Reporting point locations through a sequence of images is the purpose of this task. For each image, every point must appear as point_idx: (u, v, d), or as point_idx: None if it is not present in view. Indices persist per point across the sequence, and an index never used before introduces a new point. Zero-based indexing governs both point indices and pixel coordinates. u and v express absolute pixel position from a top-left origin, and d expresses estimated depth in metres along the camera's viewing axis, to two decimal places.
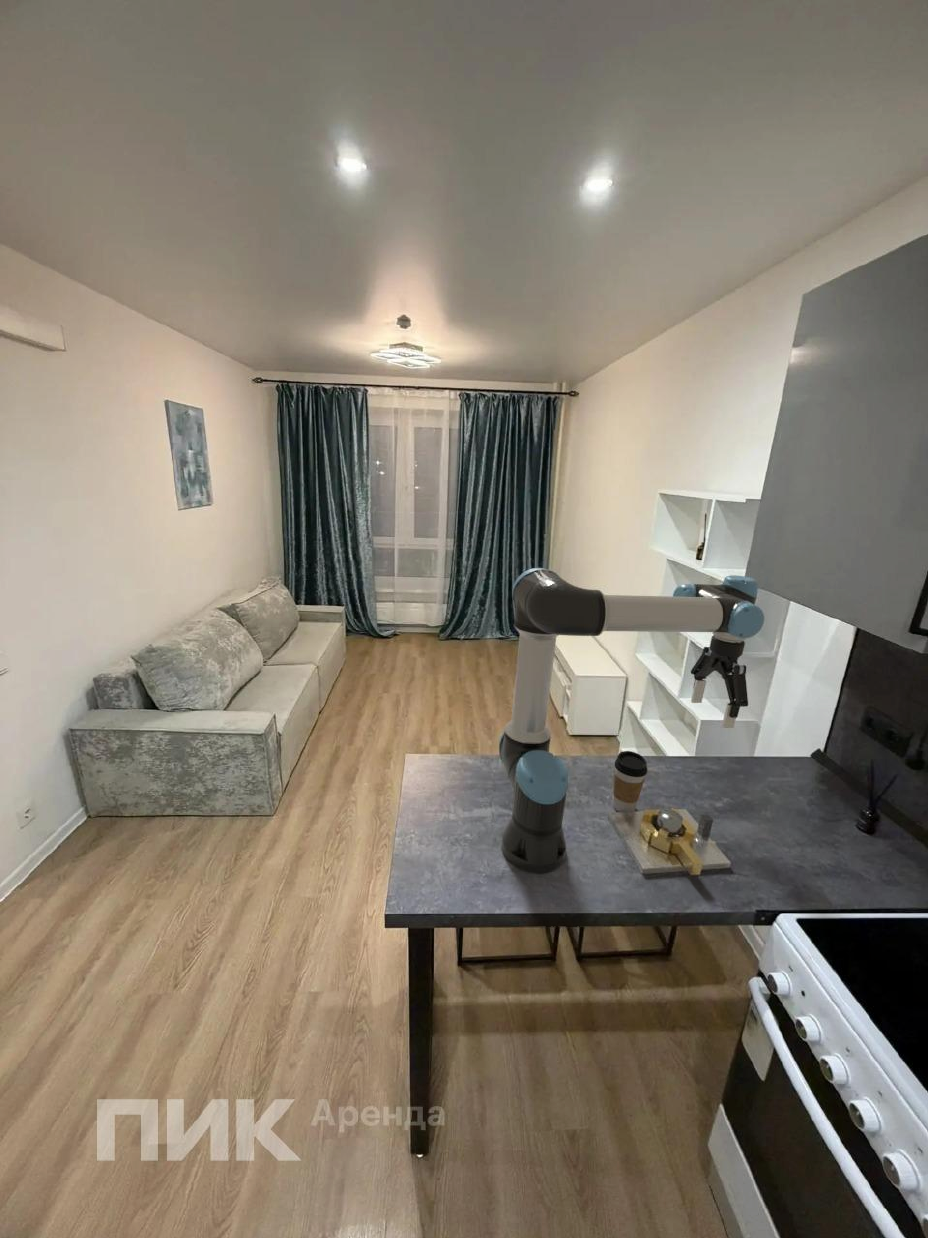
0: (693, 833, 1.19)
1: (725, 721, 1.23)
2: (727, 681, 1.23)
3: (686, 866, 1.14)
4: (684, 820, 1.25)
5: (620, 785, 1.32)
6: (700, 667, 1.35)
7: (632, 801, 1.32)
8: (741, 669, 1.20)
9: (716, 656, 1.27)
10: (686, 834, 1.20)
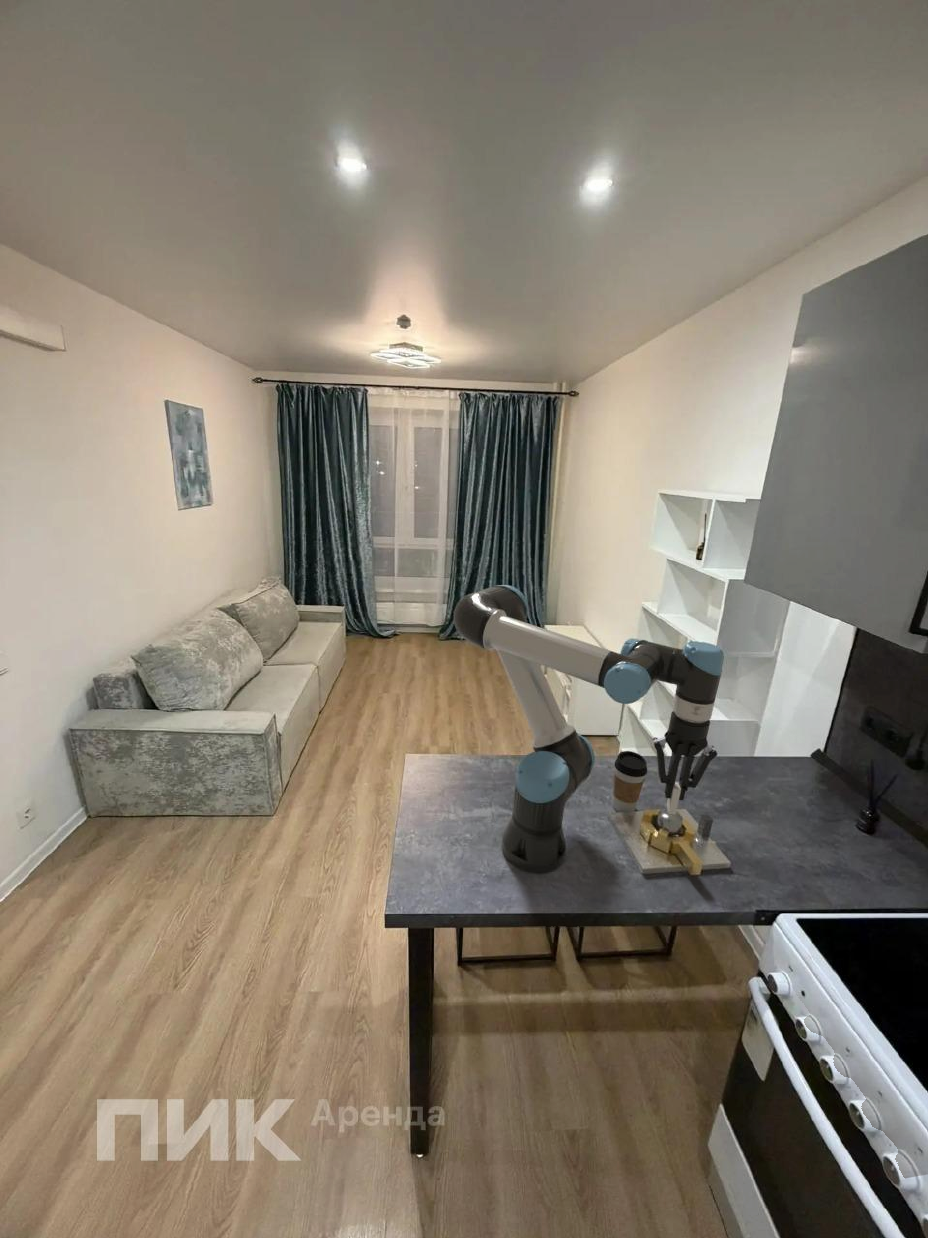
0: (693, 833, 1.19)
1: None
2: None
3: (686, 866, 1.14)
4: (684, 820, 1.25)
5: (620, 785, 1.32)
6: (694, 771, 1.08)
7: (632, 801, 1.32)
8: None
9: None
10: (686, 834, 1.20)
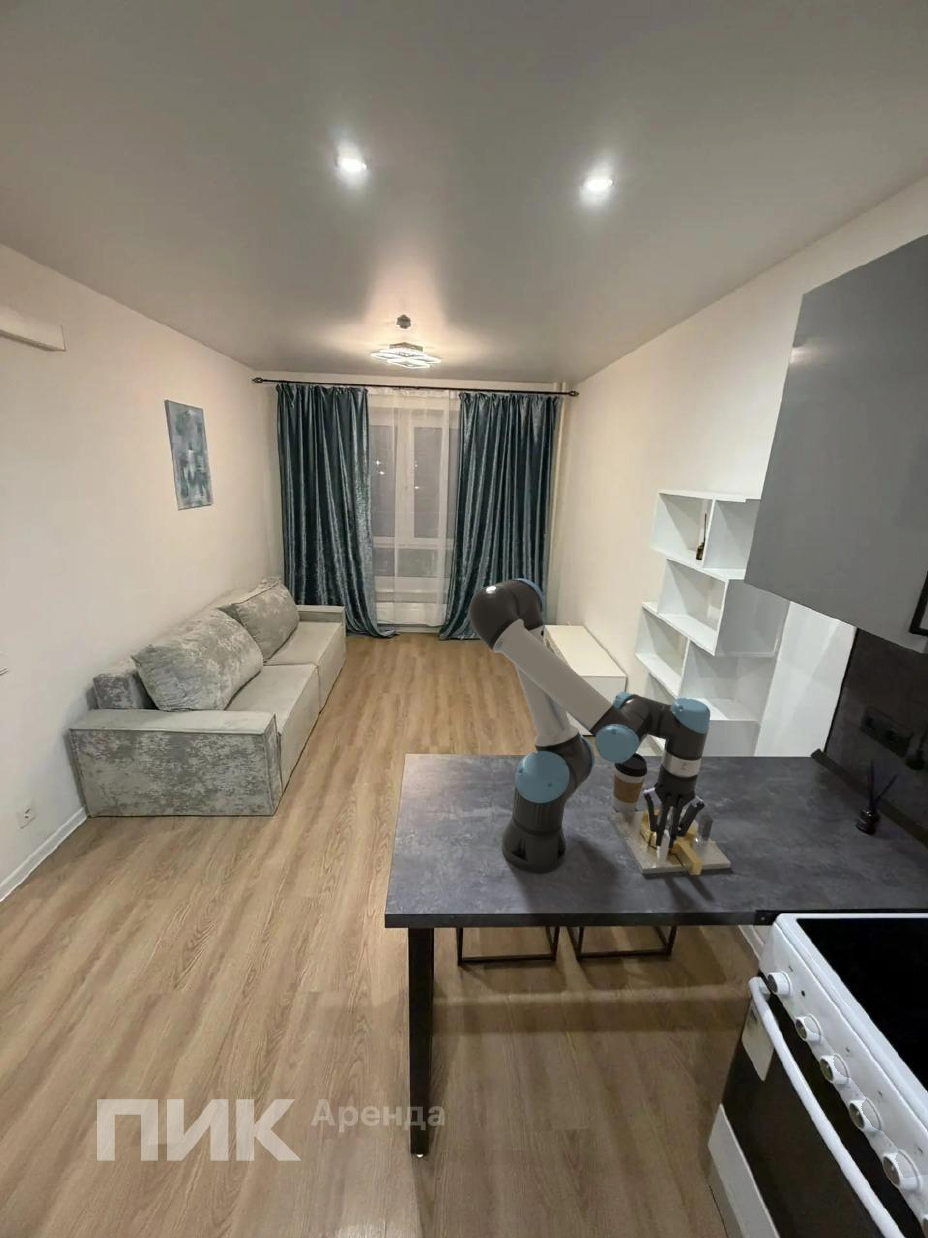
0: (693, 833, 1.19)
1: None
2: None
3: (686, 866, 1.14)
4: None
5: (620, 785, 1.32)
6: (683, 820, 1.12)
7: (632, 801, 1.32)
8: None
9: None
10: (686, 834, 1.20)
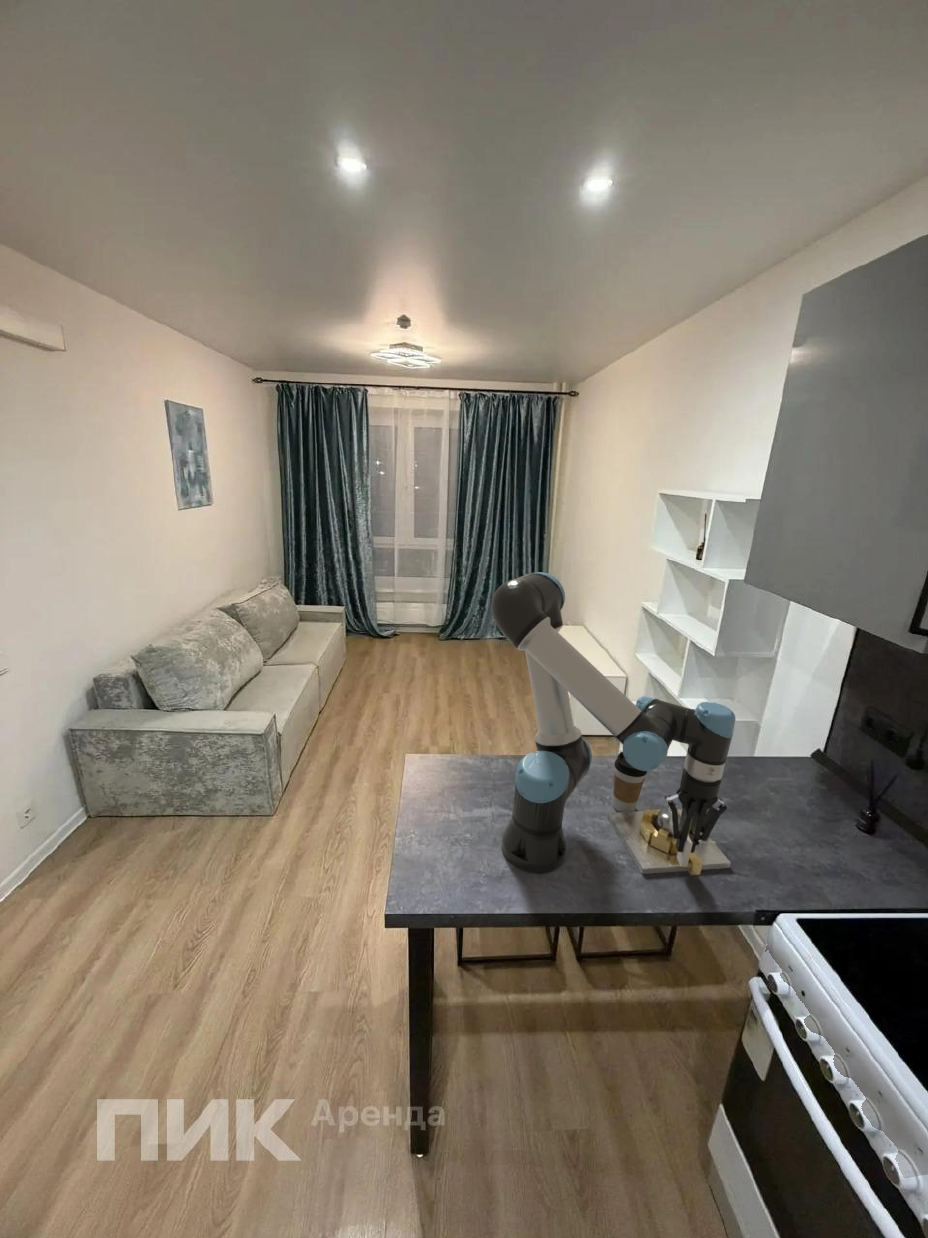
0: None
1: (678, 851, 1.15)
2: None
3: None
4: None
5: (620, 785, 1.32)
6: (704, 824, 1.11)
7: (632, 801, 1.32)
8: (667, 802, 1.09)
9: None
10: None
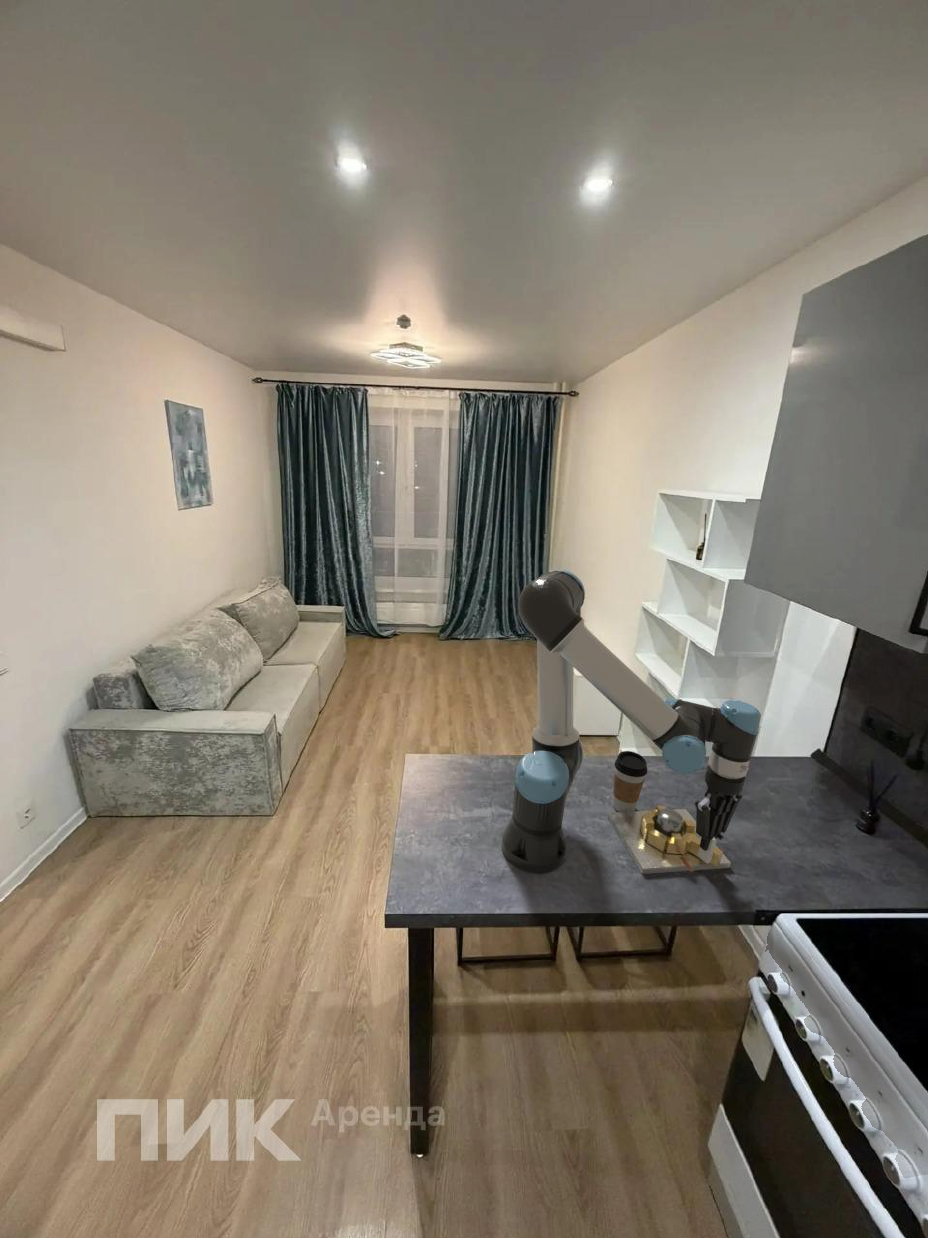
0: (693, 824, 1.22)
1: (699, 849, 1.16)
2: None
3: None
4: None
5: (620, 785, 1.32)
6: None
7: (632, 801, 1.32)
8: (699, 808, 1.08)
9: None
10: (688, 828, 1.22)
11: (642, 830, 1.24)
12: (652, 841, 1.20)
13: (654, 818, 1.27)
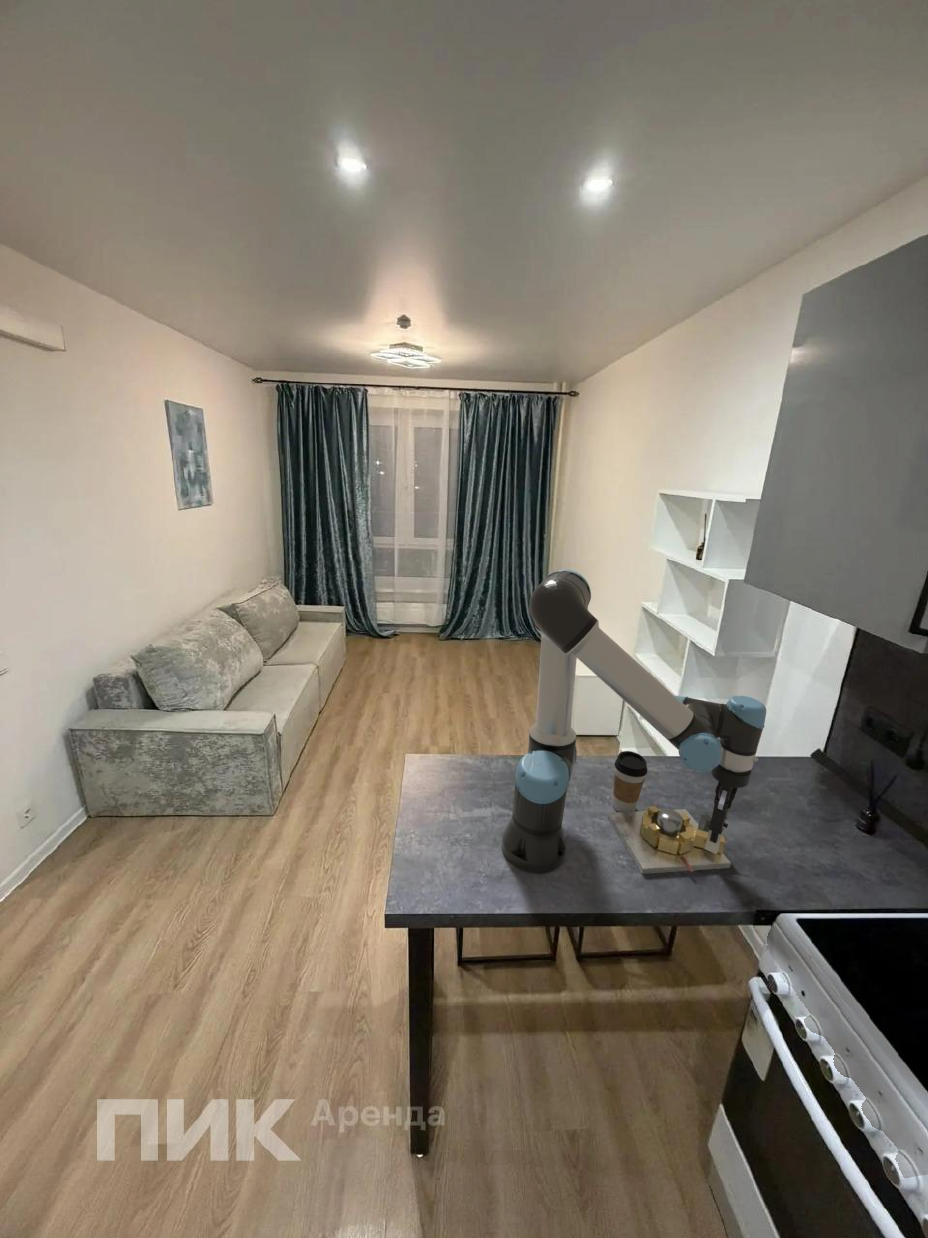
0: (687, 817, 1.25)
1: (706, 842, 1.18)
2: None
3: None
4: None
5: (620, 785, 1.32)
6: None
7: (632, 801, 1.32)
8: (720, 807, 1.09)
9: None
10: (684, 822, 1.24)
11: (648, 838, 1.21)
12: (664, 847, 1.18)
13: (650, 821, 1.25)
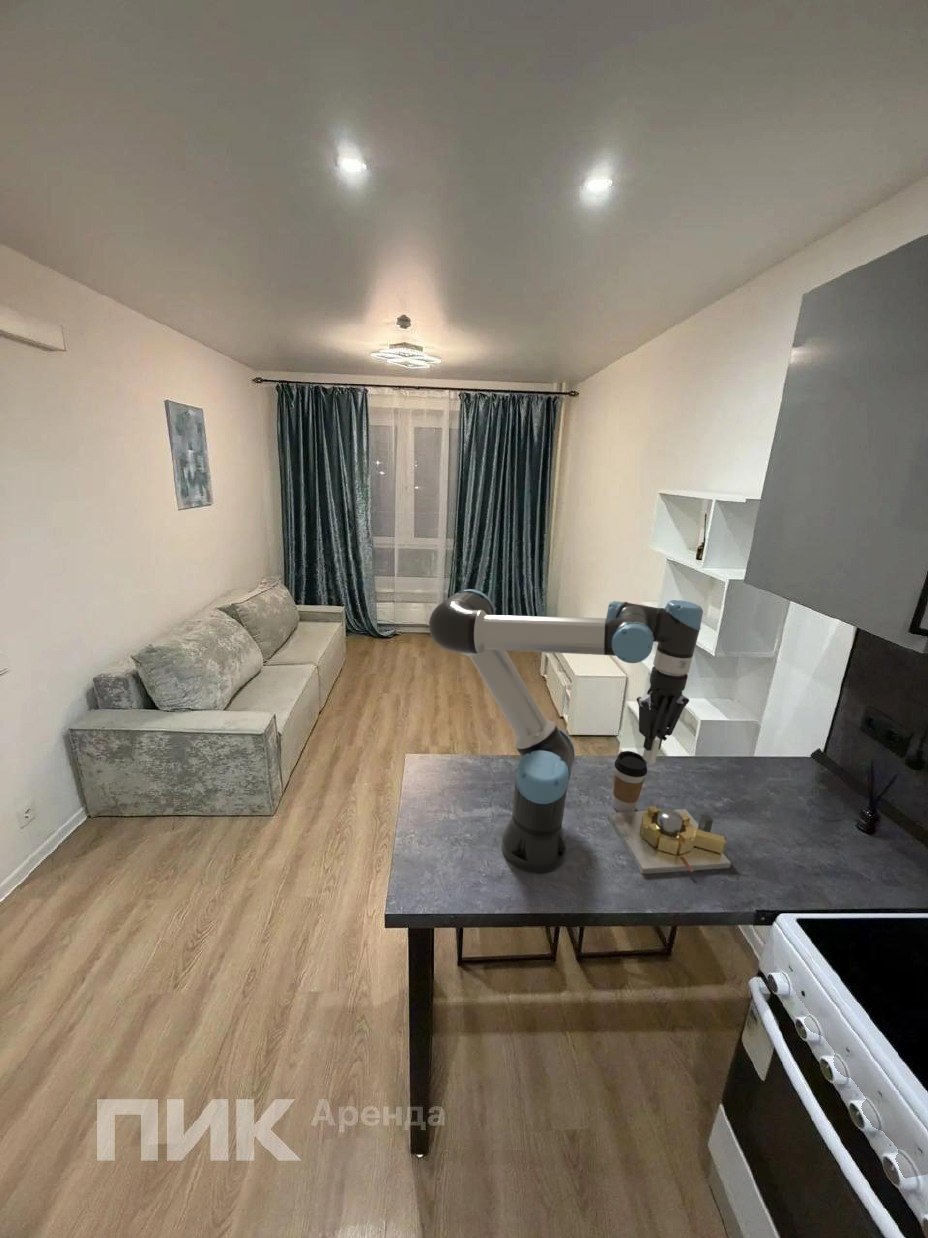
0: (687, 817, 1.25)
1: (644, 751, 1.19)
2: None
3: (713, 849, 1.19)
4: None
5: (620, 785, 1.32)
6: None
7: (632, 801, 1.32)
8: (640, 703, 1.12)
9: None
10: (684, 822, 1.24)
11: (648, 838, 1.21)
12: (664, 847, 1.18)
13: (650, 821, 1.25)
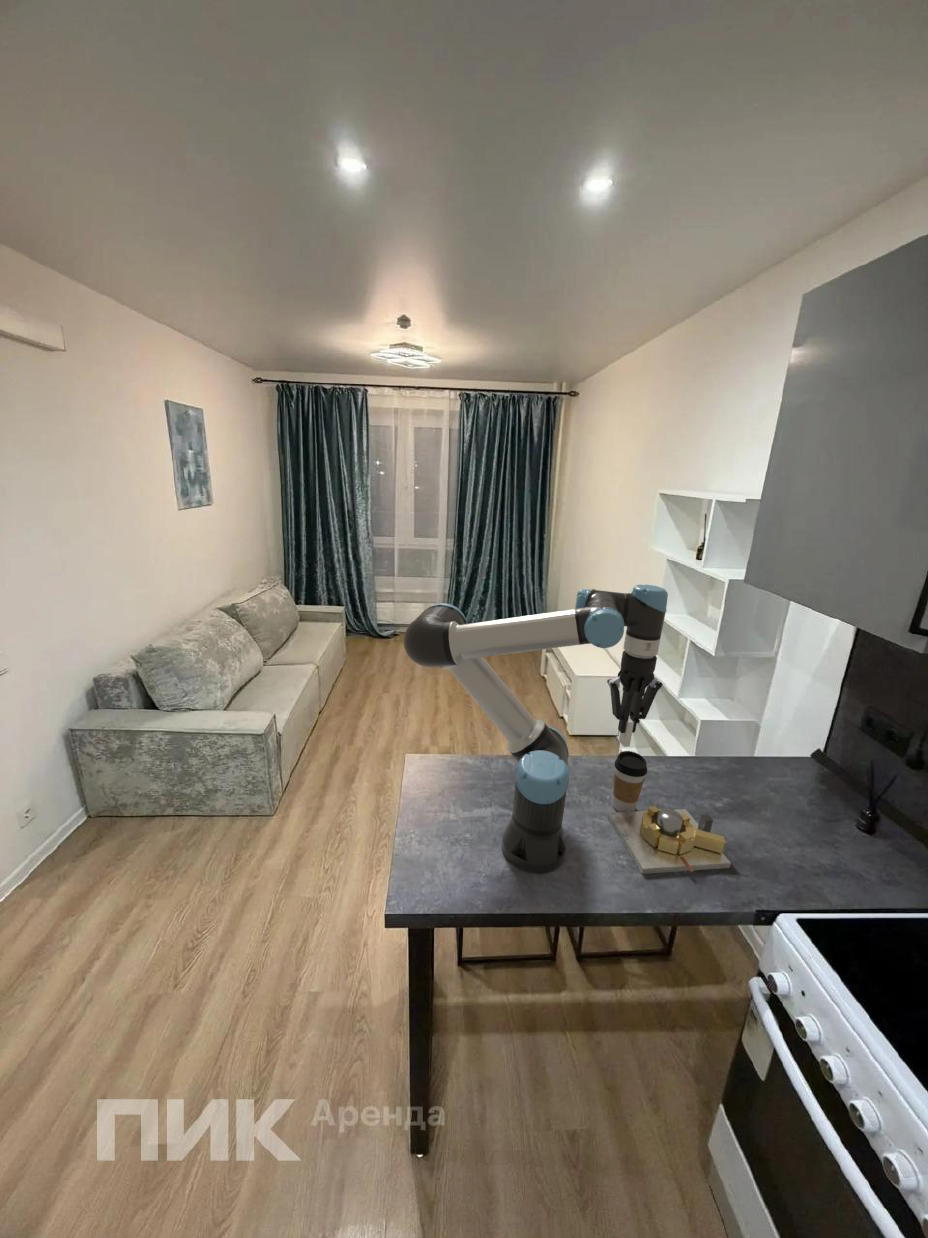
0: (687, 817, 1.25)
1: (620, 734, 1.22)
2: None
3: (713, 849, 1.19)
4: None
5: (620, 785, 1.32)
6: (642, 703, 1.19)
7: (632, 801, 1.32)
8: (609, 685, 1.15)
9: None
10: (684, 822, 1.24)
11: (648, 838, 1.21)
12: (664, 847, 1.18)
13: (650, 821, 1.25)
